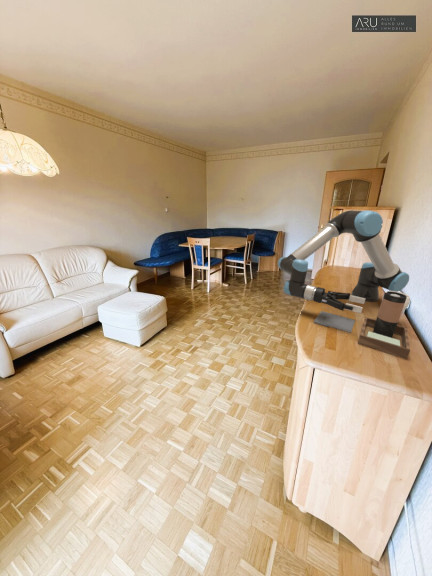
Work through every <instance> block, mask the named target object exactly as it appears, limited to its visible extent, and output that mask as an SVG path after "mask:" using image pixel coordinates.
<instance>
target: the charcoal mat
mask: <svg viewBox="0 0 432 576" xmlns="http://www.w3.org/2000/svg"><path fill="white" fill-rule="evenodd" d="M355 322H356V319H353V318H349V317H346V316H343V315H342V316H341V315H338V314H334V313H331V312H327V311H323V310H322V311H320V313H319V314H318V315H317V316H316V317H315V319H314V321H313V324H317V325H320V326H322V327H326V328H333V329H336V330H338V331H343V332H345V333H349V334H351V333H352V332H353V331H352V330H353V328H354V326H355Z"/></svg>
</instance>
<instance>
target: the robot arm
mask: <svg viewBox="0 0 432 576" xmlns="http://www.w3.org/2000/svg"><path fill="white" fill-rule="evenodd" d="M383 223H384V220H383V217H382V216H381V214H380V213H379V212H377V211H375V210H374V211H373V210H353V209H352V210H347V211H343V212H341V213H339V214H338V215H336V216H334V217H333V218H331V219H330V220H329V221H328V222H327V223H325V224H324V227H323V228H322V229H320V230H319V231H317V233H316V234H314V235H313V236H312V237H310V238H309V239H308V240H307V241H305V242H303V244H301V245H300V246H299V247H297V248H296V249H295V250H294V251H293V252H292V253H290V254H289V255H287V256H283V257H280V258H279V259H278V261H277V266H278V268H279V270H280V271H282V272H285V273H287V274H288V275H290V277H289V278H290V279H289V280H286V281H285V282H284V286H283V293H284V294H286V295H288V296H292V297H296V298H299V299H305V300H306V301H312V302H316V303H318V304H321V303H322V304H325V305H327V306H330V307H333V308H334V309H337V310H339V311H341V312H345V310H346V311H350V312H355V313H358V314H362V313H363V312H362V311H363V307H362V306H359V305H355V304H351V303H347V302H346V303H344V302H343V301H341V300H345V301H347V300H348V301H349V302H353V303H357V304H361V305H365V302H378V301H379V298H380V293H379V287H380V288H383V289H385V290H387V291H396V292H400V291H403V290H404V289H405V287H406V286H407V285H408V283H409V281H410V275H409V273H407V272H405V271H403V270H401V268H400V266H399V265H398V263H394V261H393V259H392V257H391V255H390V253H389V251H388V250H387V249H388V248H387V247H386V244H384V241H383V239H382V237H381V235H380V233H381V231H382V228H383V225H382V224H383ZM346 233H347V234H351V235H352V237H354V240H355V241H356V242H358V243H361V245H362V247H363V249H364V251H365V253H366V255H367V256H368V259H369V260H370V262H369V261H368V262H364V263H362V265H361V268H360V270H359V271H360V272H359V276H358V280H357V284H356V285H355V286H354V288H353V289H352V291H351V293H349V292H342V291H341V292H339V291H337V292H336V291H332V290H328V291H327V292H326V289H325V287H324V288H323V287H320V286H315V285H310V284H306V278H307V274H308V270H309V268H308V267H309V261H307V260H306V259H308V258H309V257H310V256H311V255H313V254H314V253H316V252H317V251H318V250H319V249H321V248H322V247H323V246H324V245H326V244H327V243H329V241H331V240H332V239H333V238H337V237H339V236H341V235H342V234H346Z"/></svg>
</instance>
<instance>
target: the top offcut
mask: <svg viewBox="0 0 432 576" xmlns="http://www.w3.org/2000/svg"><path fill="white" fill-rule="evenodd" d="M366 335H367V336H368V337H371V338H375V339H378V340H381V341H385V342H388V343H391V344H395V345H398V346H401V340H400V339H396V338H393V337H392V338H390V337H387V336H383V335H380V334H376V333H373V331H368V332H367V333H366Z"/></svg>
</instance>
